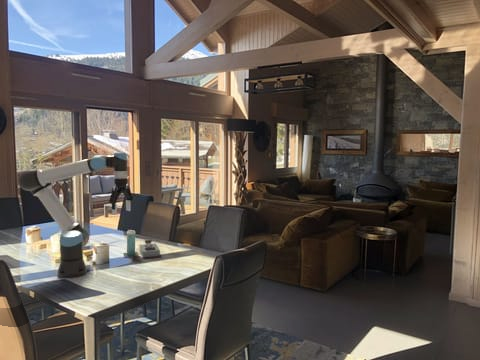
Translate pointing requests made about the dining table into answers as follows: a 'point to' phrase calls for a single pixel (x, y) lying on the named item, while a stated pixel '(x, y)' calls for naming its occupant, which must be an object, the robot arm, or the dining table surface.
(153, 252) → the housing
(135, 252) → the mat
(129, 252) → the cartridge
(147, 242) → the plunger
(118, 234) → the dining table surface
